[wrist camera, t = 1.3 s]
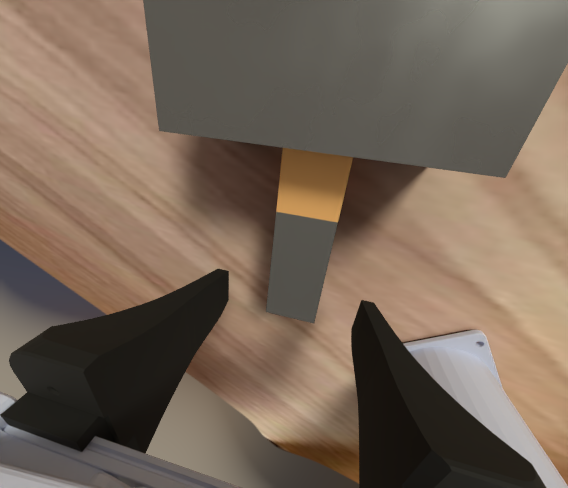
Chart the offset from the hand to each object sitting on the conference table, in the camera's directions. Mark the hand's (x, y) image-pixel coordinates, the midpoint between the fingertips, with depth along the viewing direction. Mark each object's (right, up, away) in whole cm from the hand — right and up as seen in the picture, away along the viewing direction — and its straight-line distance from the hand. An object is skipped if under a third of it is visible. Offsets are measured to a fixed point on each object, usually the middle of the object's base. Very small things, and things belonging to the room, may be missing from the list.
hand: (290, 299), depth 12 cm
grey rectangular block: (+2, +10, 0) cm, 11 cm away
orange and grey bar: (+2, +6, +2) cm, 7 cm away
